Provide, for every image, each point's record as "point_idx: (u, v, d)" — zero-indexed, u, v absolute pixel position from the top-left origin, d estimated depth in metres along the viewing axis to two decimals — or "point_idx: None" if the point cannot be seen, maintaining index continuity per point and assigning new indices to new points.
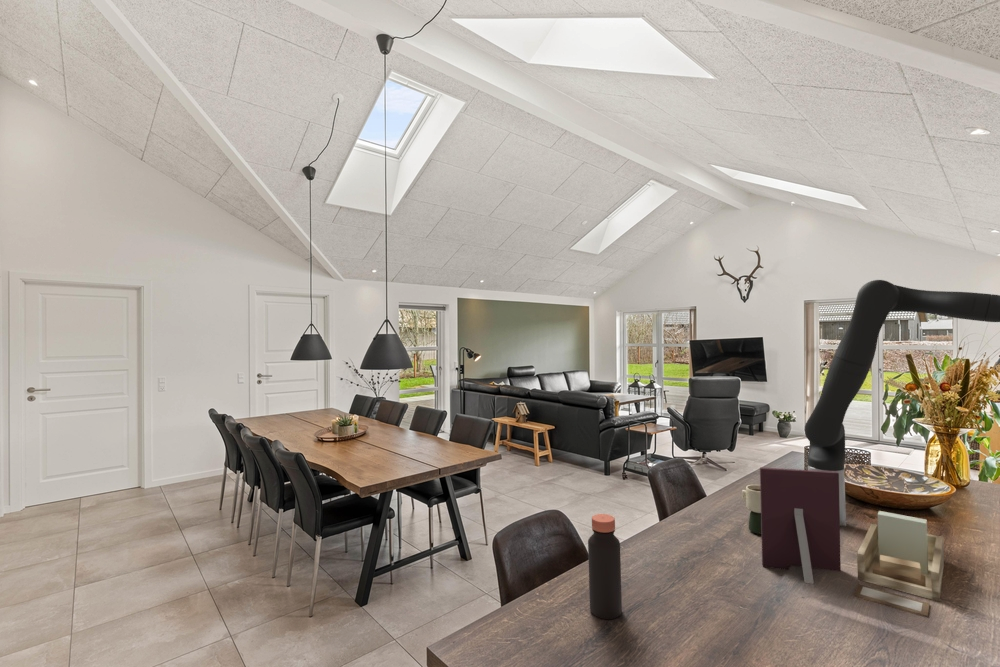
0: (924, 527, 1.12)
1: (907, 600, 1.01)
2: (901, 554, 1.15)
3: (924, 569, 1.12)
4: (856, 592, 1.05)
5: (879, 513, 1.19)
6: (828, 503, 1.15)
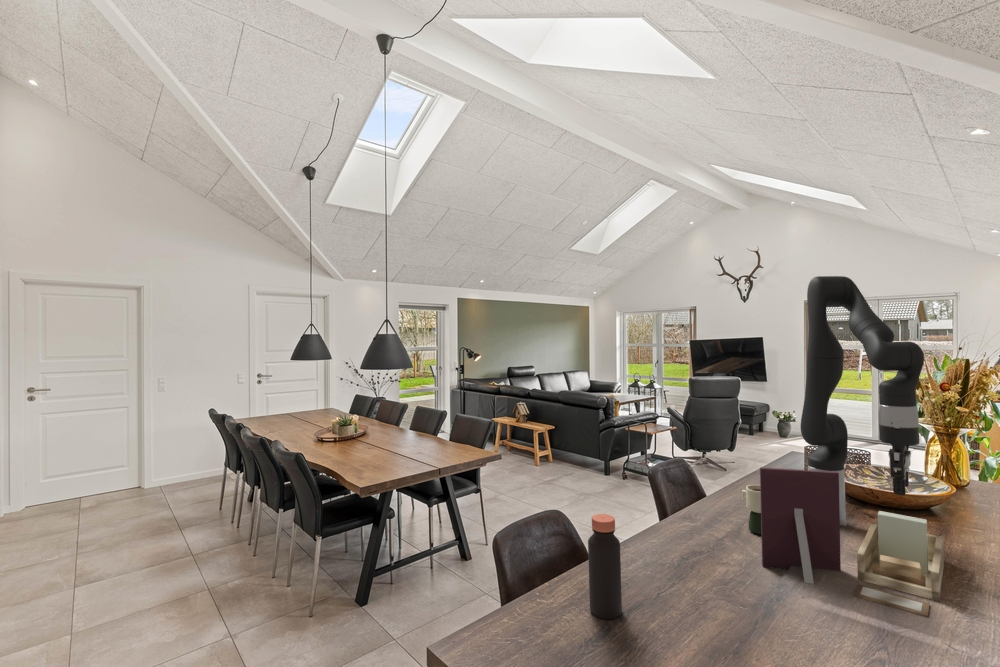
0: (924, 527, 1.12)
1: (907, 600, 1.01)
2: (901, 554, 1.15)
3: (924, 569, 1.12)
4: (856, 592, 1.05)
5: (879, 513, 1.19)
6: (828, 503, 1.15)
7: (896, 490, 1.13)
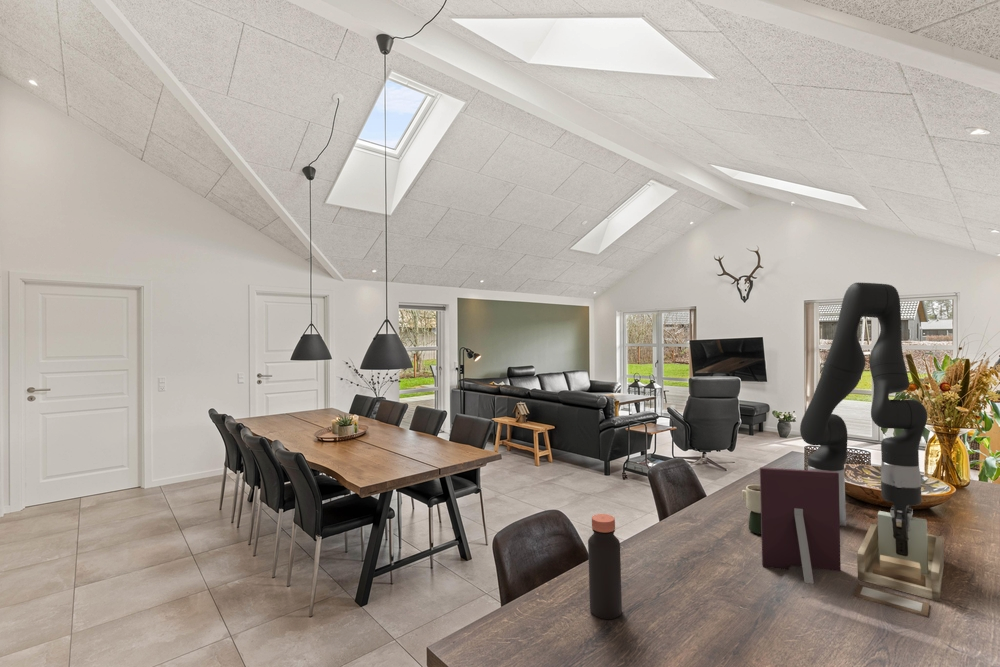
0: (924, 527, 1.12)
1: (907, 600, 1.01)
2: None
3: (924, 569, 1.12)
4: (856, 592, 1.05)
5: (879, 513, 1.19)
6: (828, 503, 1.15)
7: (899, 551, 1.15)
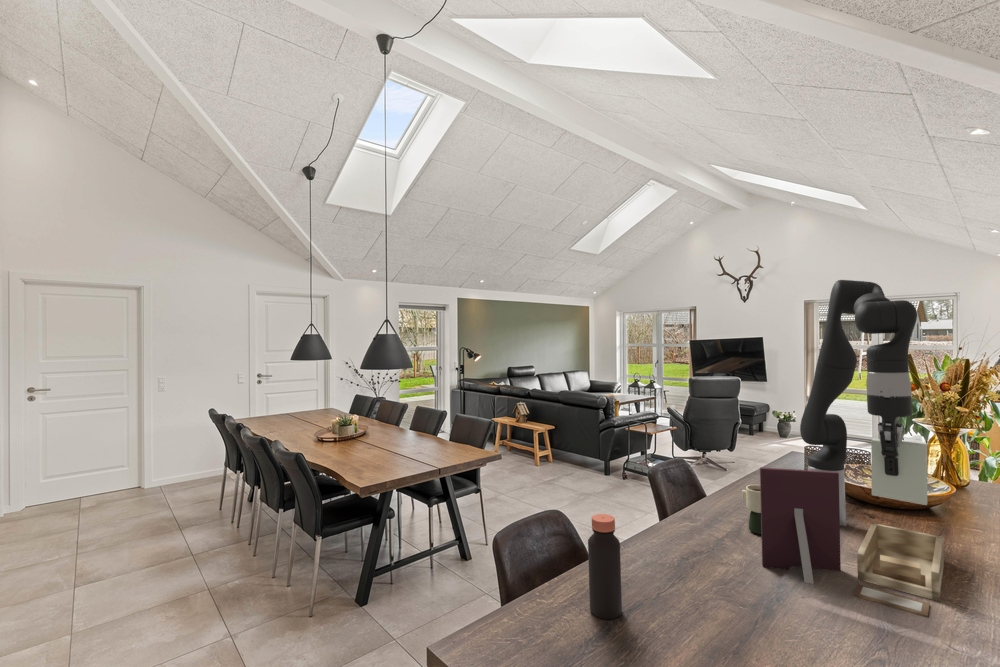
0: (924, 451, 0.98)
1: (907, 600, 1.01)
2: (897, 484, 1.01)
3: (923, 499, 0.98)
4: (856, 592, 1.05)
5: (873, 439, 1.05)
6: (828, 503, 1.15)
7: (888, 470, 1.01)
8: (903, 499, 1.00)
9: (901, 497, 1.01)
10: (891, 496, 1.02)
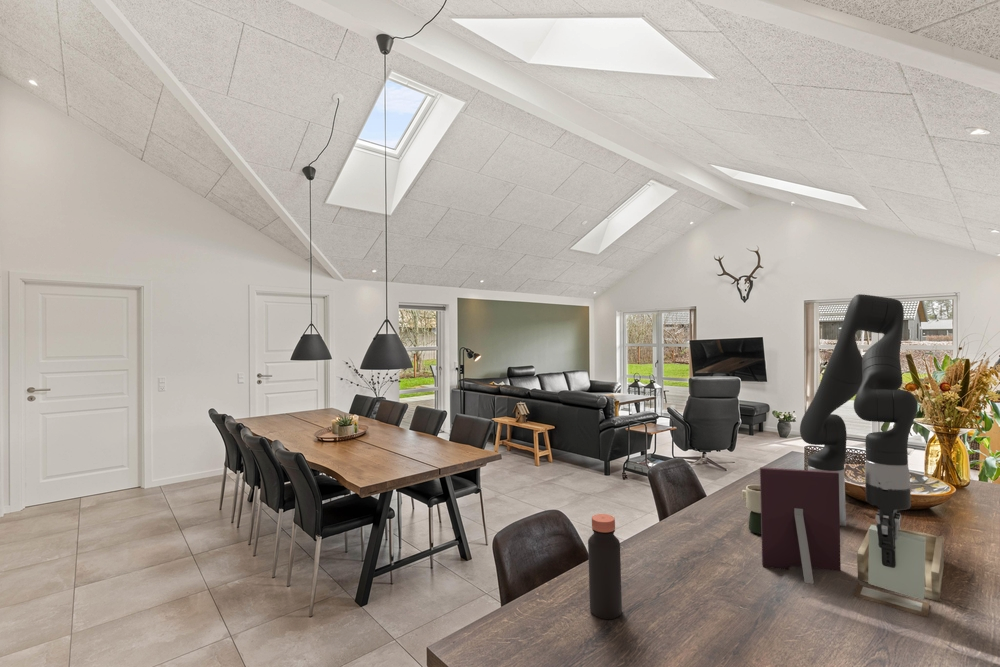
0: (922, 546, 0.97)
1: (907, 600, 1.01)
2: (894, 576, 1.00)
3: (920, 594, 0.98)
4: (856, 592, 1.05)
5: (870, 527, 1.04)
6: (828, 503, 1.15)
7: (885, 562, 1.00)
8: (900, 591, 1.00)
9: (898, 589, 1.00)
10: (888, 587, 1.01)
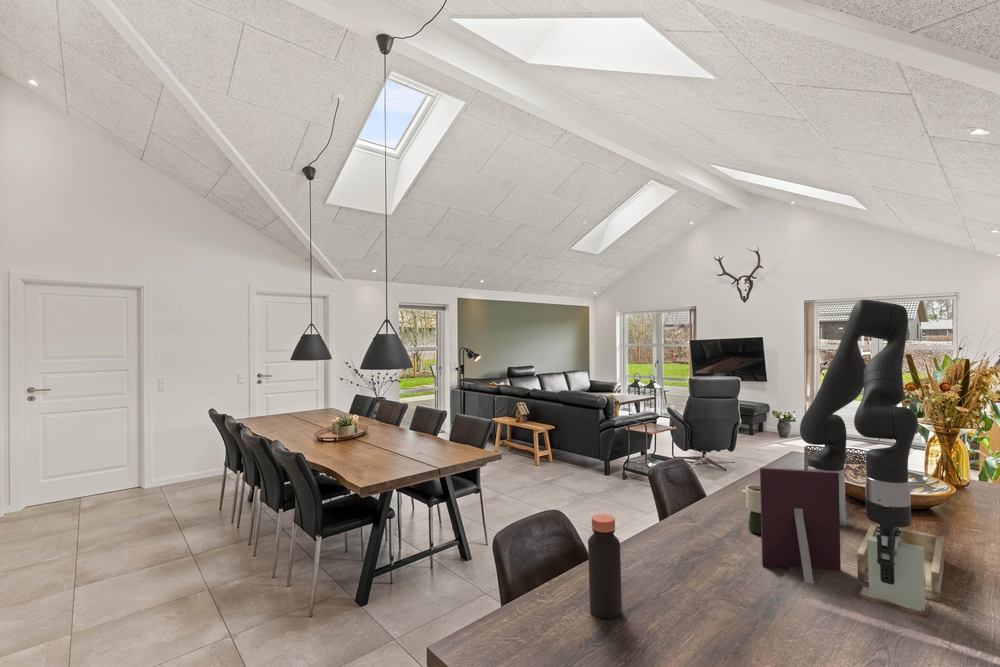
0: (921, 556, 0.97)
1: None
2: (895, 587, 1.00)
3: (921, 605, 0.98)
4: (856, 592, 1.05)
5: (869, 538, 1.04)
6: (828, 503, 1.15)
7: (884, 578, 0.99)
8: (901, 602, 1.00)
9: (899, 600, 1.00)
10: (889, 598, 1.01)
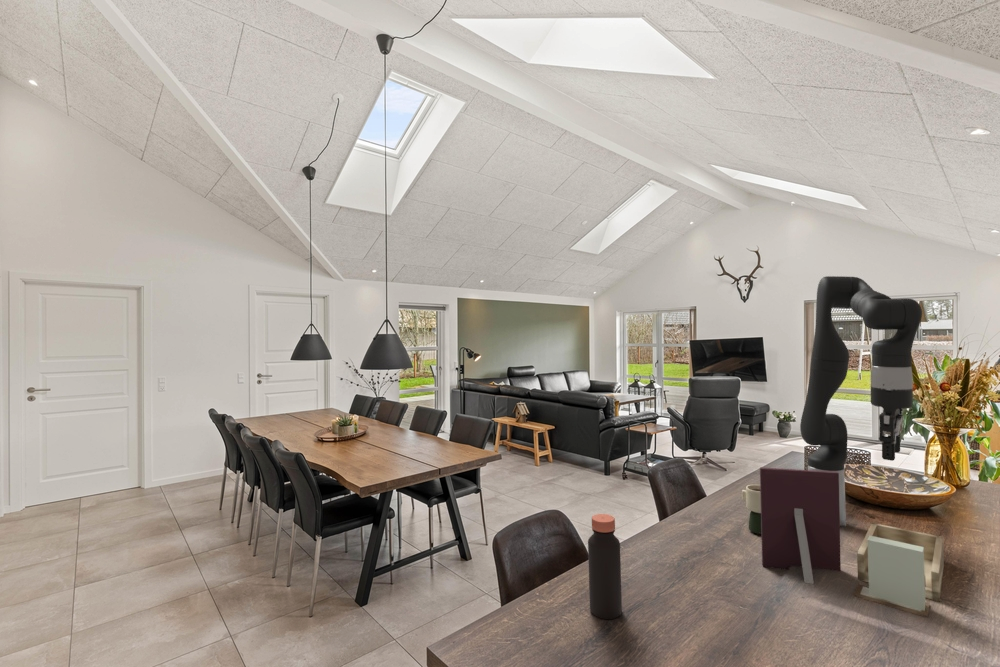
0: (921, 556, 0.97)
1: None
2: (895, 587, 1.00)
3: (921, 605, 0.98)
4: (856, 592, 1.05)
5: (869, 538, 1.04)
6: (828, 503, 1.15)
7: (885, 455, 1.07)
8: (901, 602, 1.00)
9: (899, 600, 1.00)
10: (889, 598, 1.01)
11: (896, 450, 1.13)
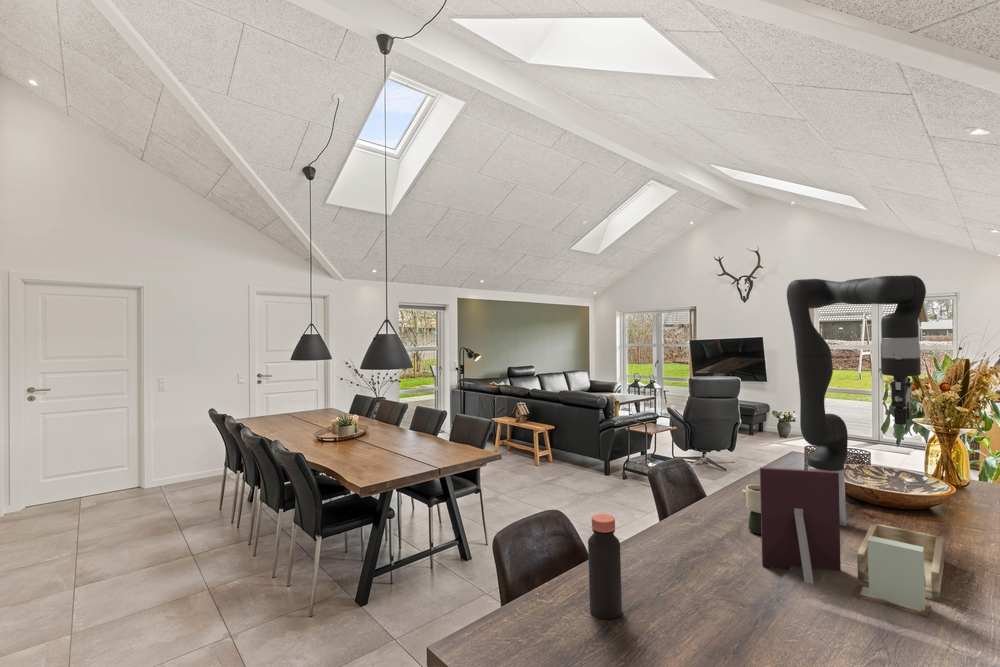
0: (921, 556, 0.97)
1: None
2: (895, 587, 1.00)
3: (921, 605, 0.98)
4: (856, 592, 1.05)
5: (869, 538, 1.04)
6: (828, 503, 1.15)
7: (897, 420, 1.15)
8: (901, 602, 1.00)
9: (899, 600, 1.00)
10: (889, 598, 1.01)
11: (906, 417, 1.20)
